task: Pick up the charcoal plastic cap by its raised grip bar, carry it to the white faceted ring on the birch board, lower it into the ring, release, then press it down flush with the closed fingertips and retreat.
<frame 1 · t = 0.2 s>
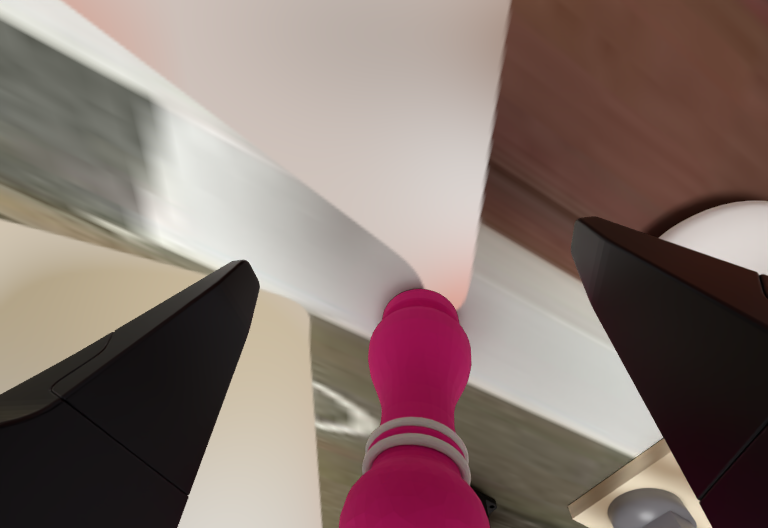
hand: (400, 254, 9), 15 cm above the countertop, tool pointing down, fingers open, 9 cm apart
cap: (644, 511, 31), point 1 cm above the countertop, touching board
flower in vase: (713, 271, 24), on the countertop
board: (726, 496, 31), on the countertop
pepper mill: (420, 320, 28), on the countertop
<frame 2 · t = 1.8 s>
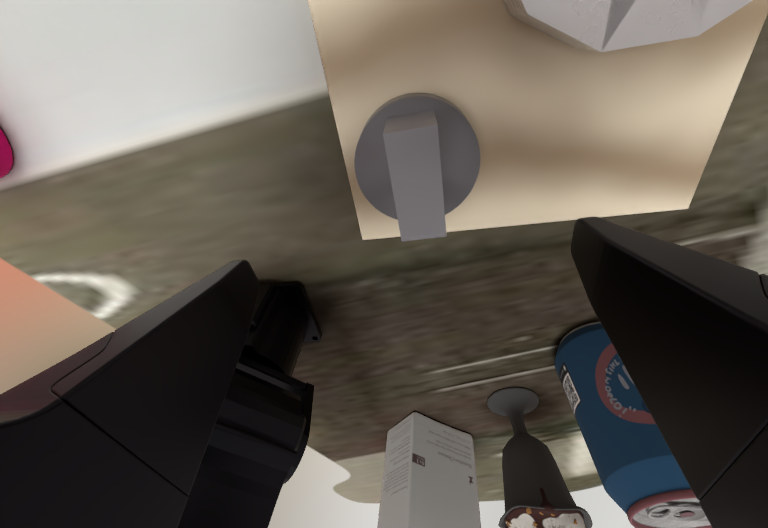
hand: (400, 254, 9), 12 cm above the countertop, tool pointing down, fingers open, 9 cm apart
cap: (415, 156, 18), point 1 cm above the countertop, touching board
sundae: (511, 399, 33), on the countertop
skincare box: (426, 430, 38), on the countertop
soda can: (592, 343, 28), on the countertop
board: (522, 27, 16), on the countertop
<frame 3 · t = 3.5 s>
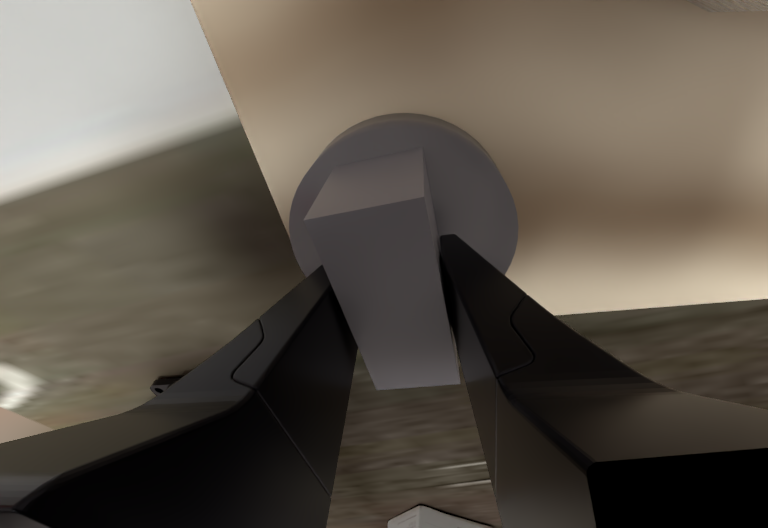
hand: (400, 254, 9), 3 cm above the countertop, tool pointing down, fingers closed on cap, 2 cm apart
cap: (402, 219, 11), point 1 cm above the countertop, touching board, gripper
skincare box: (436, 520, 31), on the countertop
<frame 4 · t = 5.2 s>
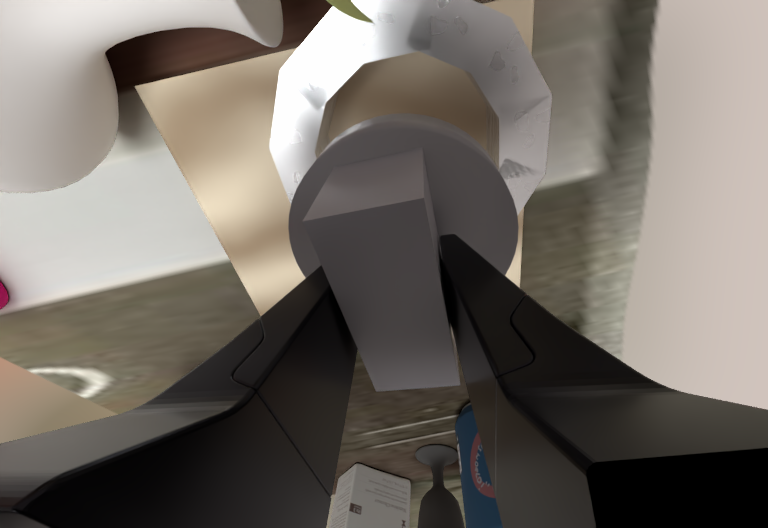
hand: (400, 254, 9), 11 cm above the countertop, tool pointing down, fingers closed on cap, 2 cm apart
cap: (402, 219, 11), point 9 cm above the countertop, touching gripper
sundae: (436, 452, 39), on the countertop
skincare box: (372, 476, 44), on the countertop
soda can: (488, 412, 34), on the countertop
white faceted ring: (407, 141, 17), resting on board
board: (365, 223, 22), on the countertop
when the fingers open (5 cm above the countertop, at t = 6.6 s): cap drops 2 cm, resting on board.
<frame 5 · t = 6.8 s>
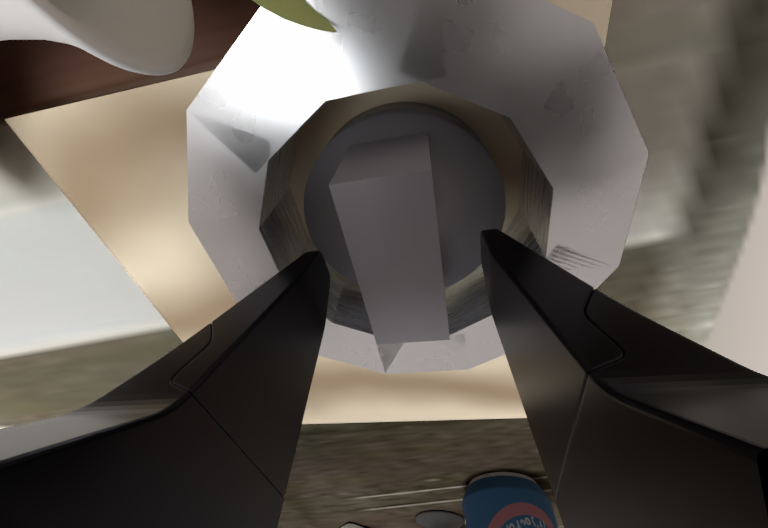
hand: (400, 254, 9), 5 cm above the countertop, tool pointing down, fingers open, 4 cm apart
cap: (403, 198, 12), point 1 cm above the countertop, touching board
sundae: (439, 516, 34), on the countertop
soda can: (501, 483, 28), on the countertop
white faceted ring: (404, 198, 12), resting on board
board: (350, 290, 16), on the countertop
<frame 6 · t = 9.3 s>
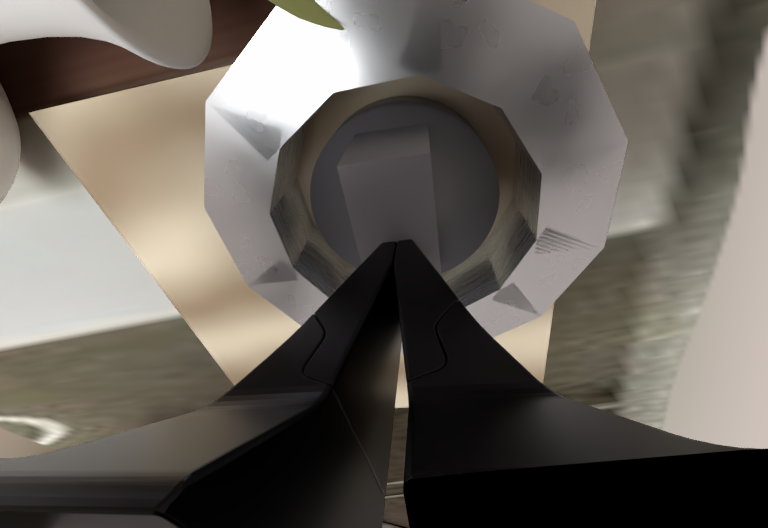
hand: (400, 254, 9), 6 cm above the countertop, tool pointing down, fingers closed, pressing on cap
cap: (404, 188, 13), point 1 cm above the countertop, touching board, gripper
skincare box: (367, 524, 40), on the countertop
white faceted ring: (404, 187, 13), resting on board
board: (352, 278, 17), on the countertop
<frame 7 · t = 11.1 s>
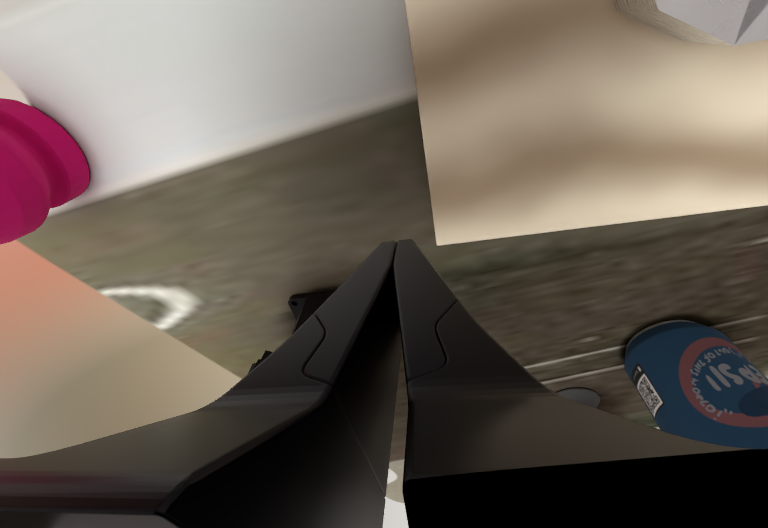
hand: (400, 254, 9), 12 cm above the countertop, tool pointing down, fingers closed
sundae: (571, 399, 33), on the countertop
soda can: (663, 341, 27), on the countertop
board: (623, 22, 15), on the countertop
pepper mill: (41, 150, 21), on the countertop
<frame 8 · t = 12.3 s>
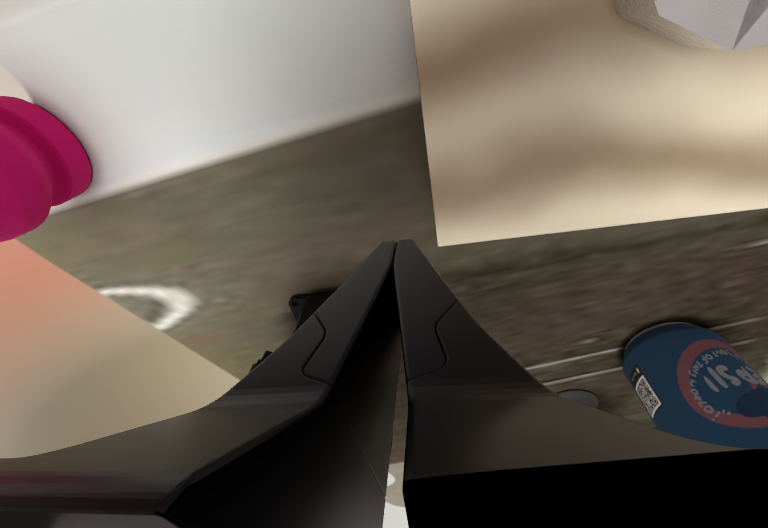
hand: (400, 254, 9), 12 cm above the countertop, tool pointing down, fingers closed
sundae: (569, 401, 33), on the countertop
soda can: (661, 343, 27), on the countertop
board: (623, 27, 15), on the countertop
pepper mill: (42, 149, 21), on the countertop
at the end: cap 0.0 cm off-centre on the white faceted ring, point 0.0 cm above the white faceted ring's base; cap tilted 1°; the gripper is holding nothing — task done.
